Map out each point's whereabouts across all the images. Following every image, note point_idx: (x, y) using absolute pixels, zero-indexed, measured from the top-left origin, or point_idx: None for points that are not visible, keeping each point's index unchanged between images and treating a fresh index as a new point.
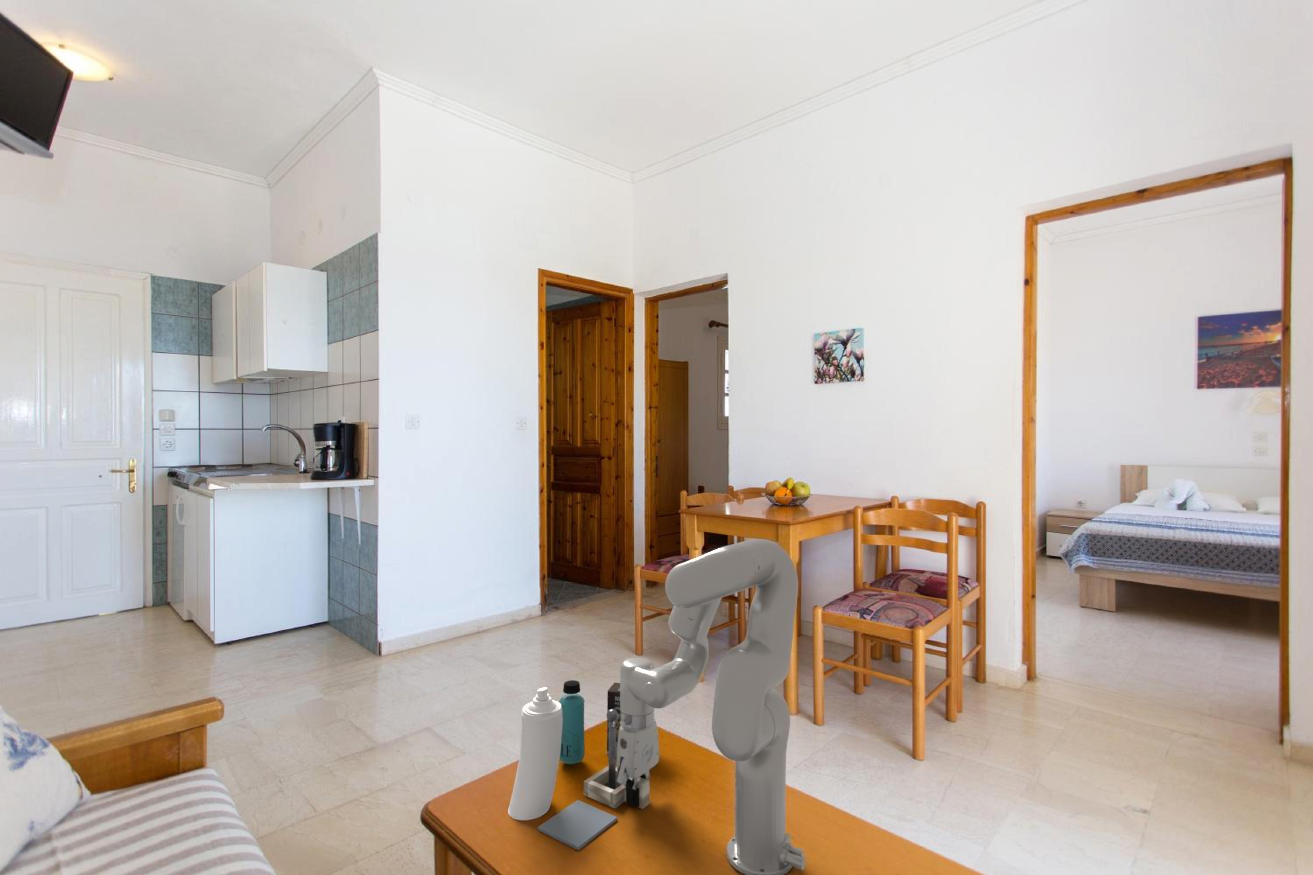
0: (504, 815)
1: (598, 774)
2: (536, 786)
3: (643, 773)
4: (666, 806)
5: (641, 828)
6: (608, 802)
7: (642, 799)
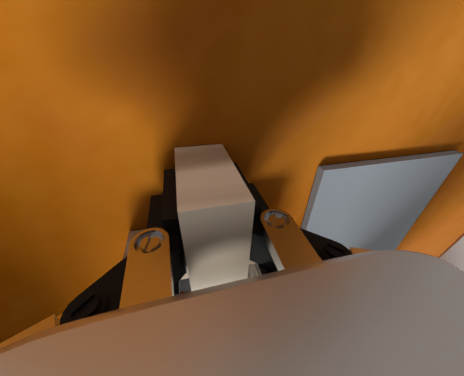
0: None
1: None
2: None
3: (315, 269)
4: (124, 60)
5: (337, 57)
6: None
7: (231, 162)
